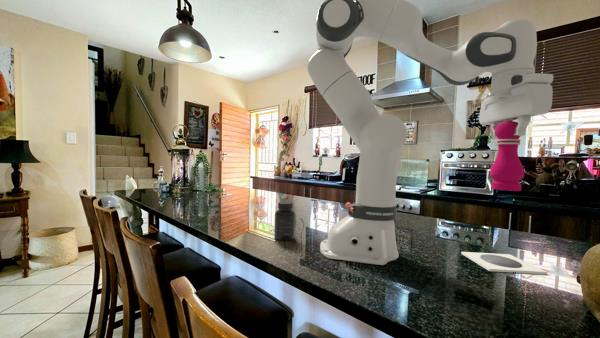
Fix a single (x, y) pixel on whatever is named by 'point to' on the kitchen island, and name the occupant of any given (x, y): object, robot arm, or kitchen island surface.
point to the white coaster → (502, 263)
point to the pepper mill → (507, 158)
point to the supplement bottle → (284, 222)
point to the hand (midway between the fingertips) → (507, 137)
